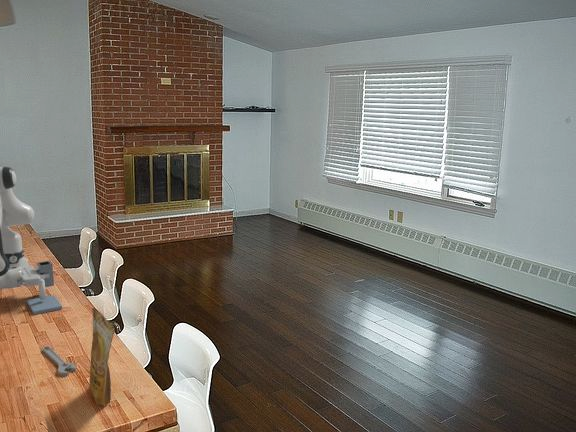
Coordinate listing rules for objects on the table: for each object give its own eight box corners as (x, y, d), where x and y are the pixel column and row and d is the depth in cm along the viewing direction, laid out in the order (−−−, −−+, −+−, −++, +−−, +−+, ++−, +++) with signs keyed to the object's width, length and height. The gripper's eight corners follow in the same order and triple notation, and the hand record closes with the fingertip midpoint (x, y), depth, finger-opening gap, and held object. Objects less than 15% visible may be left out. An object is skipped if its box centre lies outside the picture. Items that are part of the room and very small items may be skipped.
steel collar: (38, 284, 265) (36, 262, 262) (51, 281, 268) (49, 260, 266) (40, 288, 260) (39, 266, 258) (54, 285, 264) (52, 264, 261)
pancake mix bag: (106, 378, 191) (101, 304, 184) (119, 406, 175) (115, 325, 168) (86, 383, 187) (81, 307, 181) (98, 411, 171) (92, 329, 165)
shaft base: (26, 303, 255) (24, 277, 252) (54, 297, 261) (52, 273, 258) (33, 314, 242) (31, 288, 239) (62, 309, 249) (60, 283, 246)
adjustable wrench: (41, 351, 210) (41, 347, 210) (58, 347, 214) (58, 342, 214) (60, 378, 191) (60, 373, 191) (79, 372, 195) (79, 368, 195)
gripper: (19, 278, 247) (51, 273, 254) (11, 265, 263) (42, 260, 271) (20, 291, 248) (52, 285, 256) (12, 277, 264) (43, 272, 272)
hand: (47, 272), depth 263 cm, fingers closed on steel collar, 6 cm apart
